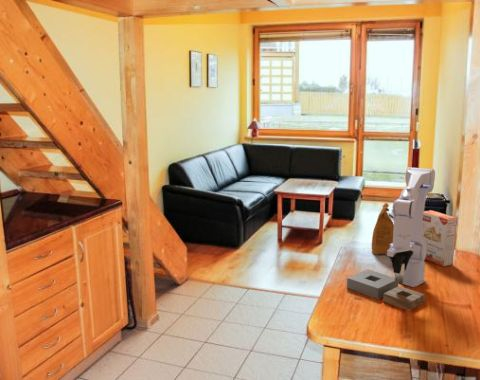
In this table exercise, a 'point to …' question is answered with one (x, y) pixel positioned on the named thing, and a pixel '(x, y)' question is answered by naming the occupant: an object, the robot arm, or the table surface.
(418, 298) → the socket block
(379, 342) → the table surface
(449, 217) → the cracker box
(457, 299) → the table surface
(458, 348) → the table surface
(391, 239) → the coffee package
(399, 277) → the metal peg
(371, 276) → the grey square hole plate
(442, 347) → the table surface
